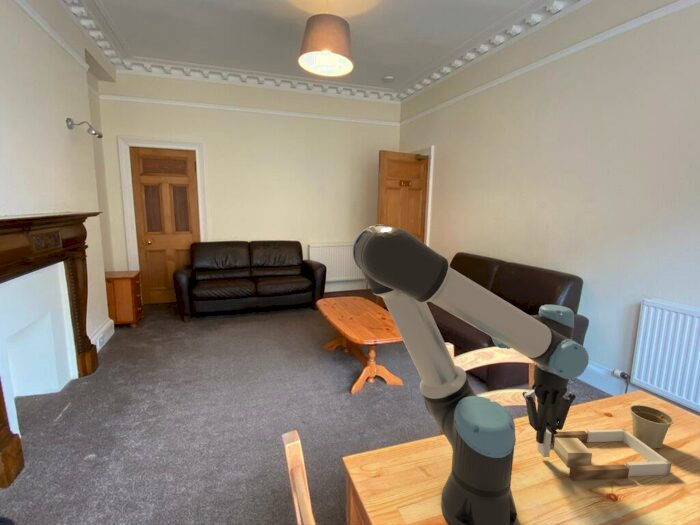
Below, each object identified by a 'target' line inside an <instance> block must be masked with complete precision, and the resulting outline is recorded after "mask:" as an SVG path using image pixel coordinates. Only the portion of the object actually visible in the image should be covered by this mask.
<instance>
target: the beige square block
mask: <svg viewBox="0 0 700 525" xmlns="http://www.w3.org/2000/svg"><path fill="white" fill-rule="evenodd" d="M553 445H554V446H553V451H554V453H555V454H556V456H557V457H558V458H559V459H560V460H561V461H562V463H563V464H564V465H565V466H566V467H576V466H592V458H593V453H592V451H591V450H590V449H589V448H588V447H587V446H586V445H585V444H584V442H583V443H582V442H581V441H580V440H579V439H578V438H555V443H554V444H553Z"/></svg>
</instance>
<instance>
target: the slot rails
mask: <svg viewBox="0 0 700 525" xmlns="http://www.w3.org/2000/svg"><path fill="white" fill-rule="evenodd" d="M557 432H558V433H557V434H556V435H555V434H554V439H553V443H551V444H552V445H554V443H555V438H578V439H579V440H580V441H581V442H582V443H583V444H584V443H588V441H587V440H588V434H587V431H585V430H571V431H557ZM535 440H536V439H535ZM536 442H537V443H538V441H537V440H536ZM568 473H569V474H568V476H569V478H570V479H571V480H572V482H574V481H576V482H577V481H593V480H615V479H617V480H618V479H628V478H629V476H628V474H629V468H628V467H627V466H626V464H624V463H623V464H622V463H621V464H602V465H591V466H576V467H571V466H569V472H568Z"/></svg>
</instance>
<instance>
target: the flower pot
mask: <svg viewBox="0 0 700 525" xmlns="http://www.w3.org/2000/svg"><path fill="white" fill-rule="evenodd" d="M629 411H630V413H631V414H630V415H631V419H632V420H631V422H632V435H633V436H634V437H636V438H637V439H639V440H640V441H641V442H643V443H644V444H646V445H647V446H648V447H650V448H651V449H652V450H656V449H661V448H662V446H663V443H664V441H665V438H666V435H667V433H668V431H669V428H671V425H673V424H674V423H675V421H674V418H673V417H672V416H671V415H669V414H668V413H667V412H664V411H662V410H660V409H658V408H655V407H652V406H648V405H642V404H632V405H631V406H629Z"/></svg>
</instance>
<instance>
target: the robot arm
mask: <svg viewBox="0 0 700 525" xmlns="http://www.w3.org/2000/svg"><path fill="white" fill-rule="evenodd" d="M352 256H353V261H354V263H355V264H356V266H357V267H358V269H360V270H361V272H362V274H363V276H364V278H365V280H366V283H367V284H368V286H369V288H370V290H371V292H372V294H373V295H375V296H376V297H381V298H382V300H383V302H384V303H385V304H384V305H385V307H386V308H387V310H388V312H389V314H390V317H391V319H392V321H393V322H394V325H395V327H396V329H397V331H398V333H399V335H400V337H401V339H402V341H403V343H404V346H405V347H406V350H407V352H408V354H409V356H410V358H411V359H412V362H413V364H414V366H415V368H416V370H417V373H418V375H419V377H420V379H421V381H420V383H419V391H420V393H421V395H422V399H423V402H424V406H425V408H426V410H427V412H428V413H429V415H430V416H431V417H432V418H433V420H434V421H435V423H436V424H437V426H438V427H439V429H440V430H441V431H442V433H443V435H444V436H445V438H446V439H447V441H448V443H449V444H450V446H451V448H452V449H451V450H452V456H451V460H452V461H451V472H450V474H449V476H448V478H447V480H446V482H445V484H444V486H443V489H442V490H441V497H440V498H441V499H440V500H441V501H440V507H441V513H442V514H443V517H444V518H445V520H446V522H447V523H448V525H517V524H518V511H517V508H516V504H515V499H514V496H513V493H512V490H511V484H512V472H513V464H514V463H513V462H514V453H515V445H516V440H517V438H516V425H515V424H516V423H515V421H514V418H513V416H512V414H511V412H509V411H508V410H507V408H505V407H504V406H503V405H502V404H501V403H499V402H497V401H492V400H491V399H490V398H487V397H485V396H479V395H477V393H476V392H475V391H474V389H473V386H472V384H471V381H470V380H469V378H468V376H467V373H466V372H465V369H463V368H462V367H460V366H458V365H455V362H454V361H453V358H452V355H451V354H450V351H449V349H448V347H447V345H446V343H445V340H444V338H443V336H442V334H441V332H440V329H439V328H438V326H437V323H436V321H435V319H434V316H433V314H432V311H431V310H430V307H429V305H428V302H430V303H432V304H433V305H435V306H437V307H439V308H441V309H442V310H444V311H446V312H448V313H449V314H451V315H453V316H455V317H456V318H458V319H460V320H461V321H463V322H464V323H467V324H468V325H470V326H472V327H474V328H475V329H477V330H479V331H481V332H482V333H485V334H487V336H490V337H491V340H492V342H493V344H494V346H496V347H497V348H499V349H507V350H510V349H513V350H514V351H516V352H518V353H519V354H522V356H525V357H526V358H528V359H529V360H531V361H533V362H534V366H533V367H534V368H533V385H532V386H531V390H529V391H528V392H526V391H522V394H521V395H522V397H523V398H524V400H525V405H526V410H527V415H528V416H527V417H528V422H529V423H528V424H529V425H530V427H531V428H532V429H534V431H536V434H535V440H537V441H538V442H537V441H536V442H537V452H538V453H539V454H540V455H541V456H542V457H543V458H550V454H551V443H553V439H554V434H555V435H556V434H557V433H558V432H559V431H562V430H563V428H564V425H565V422H566V419H567V417H568V414H569V411H570V408H571V405H572V403H573V402H574V401H575V399H576V398H577V397H576V394H574V393H572V392H571V391H570V390H568V388H567V386H568V384H569V380H573V379H575V378H578V377H580V376H581V375H583V374H584V372H585V370H586V369H587V367H588V365H589V361H590V360H589V353H588V350H587V349H586V348H585V347H584V346H583V345H582V344H580V343H578V342H576V340H573V337H574V330H575V313H574V310H572V309H571V308H570V307H566V306H564V305H558V304H544V305H543V304H542V305H541V306H540V307H539V309H538V310H539V311H538V312H537V313H538V314H534V315H530V314H528V313H526V312H524V311H523V310H521V309H520V308H518V307H516V306H514V305H513V304H512V303H510V302H508V301H506V300H504V299H503V298H501V297H500V296H498V295H497V294H495V293H493V292H492V291H490V290H488V289H487V288H485V287H484V286H482V285H481V284H478V283H477V282H475V281H473V280H472V279H470V278H469V277H467V276H465V275H463V274H462V273H460V272H458V271H457V270H455V269H453V268H452V267H451V265H450V262H449V260H448V258H445V257H444V256H443V255H441V254H439V253H438V252H437V251H435V250H433V249H432V248H431V247H430V246H428V245H427V244H425V243H424V242H423V241H421V240H420V239H419V238H418V237H416V236H415V235H413V234H412V233H411V232H409V231H407V230H405V229H404V228H400V227H396V226H395V227H394V226H391V225H387V224H380V223H379V224H374V225H371V226H368V227H367V228H364V229H363V230H362V231H361V232H360V233H359V234H358V235H357V236H356V238H355V240H354V242H353V247H352ZM535 401H536V402H535ZM536 403H537V405H536ZM558 430H559V431H558Z"/></svg>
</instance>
